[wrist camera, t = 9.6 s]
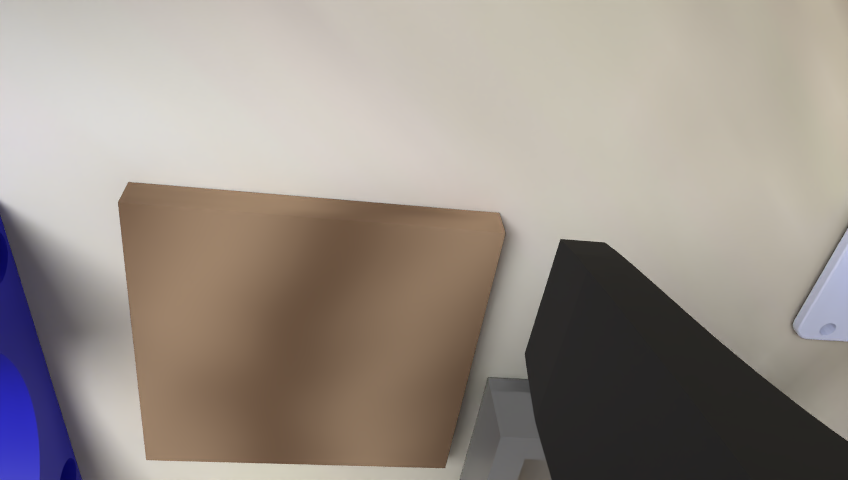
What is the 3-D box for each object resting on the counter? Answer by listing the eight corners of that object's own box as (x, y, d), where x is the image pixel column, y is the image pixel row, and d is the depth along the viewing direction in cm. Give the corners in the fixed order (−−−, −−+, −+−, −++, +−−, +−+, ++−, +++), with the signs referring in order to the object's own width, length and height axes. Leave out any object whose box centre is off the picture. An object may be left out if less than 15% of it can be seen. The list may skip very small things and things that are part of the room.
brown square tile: (499, 213, 20) (505, 232, 19) (441, 445, 26) (444, 468, 25) (128, 182, 19) (118, 202, 18) (153, 435, 24) (146, 460, 23)
